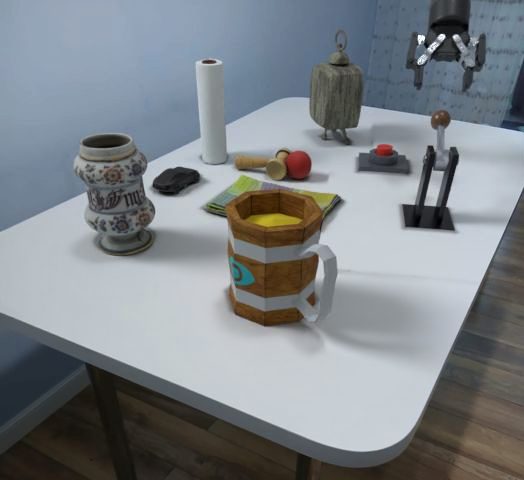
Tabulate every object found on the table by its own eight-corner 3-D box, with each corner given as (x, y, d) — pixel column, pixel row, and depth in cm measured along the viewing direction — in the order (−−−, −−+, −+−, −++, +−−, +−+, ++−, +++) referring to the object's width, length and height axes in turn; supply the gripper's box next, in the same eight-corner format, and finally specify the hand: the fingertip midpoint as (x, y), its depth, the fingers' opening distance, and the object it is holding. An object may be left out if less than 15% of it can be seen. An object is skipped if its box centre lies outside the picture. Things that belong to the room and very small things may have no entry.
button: (391, 152, 116) (392, 144, 114) (391, 157, 113) (393, 149, 112) (375, 151, 116) (376, 143, 115) (376, 156, 113) (377, 148, 112)
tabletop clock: (356, 146, 129) (370, 34, 112) (323, 149, 127) (332, 35, 111) (336, 129, 139) (346, 24, 123) (306, 132, 138) (312, 25, 121)
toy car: (203, 179, 112) (202, 162, 110) (169, 198, 104) (167, 180, 102) (183, 174, 114) (181, 157, 112) (148, 192, 107) (146, 175, 104)
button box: (403, 164, 120) (407, 147, 117) (406, 178, 113) (409, 161, 110) (358, 161, 121) (360, 144, 118) (357, 175, 114) (359, 158, 111)
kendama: (231, 181, 114) (305, 182, 108) (229, 152, 111) (305, 151, 105) (245, 175, 121) (316, 175, 114) (243, 147, 118) (315, 146, 111)
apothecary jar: (157, 223, 96) (143, 126, 84) (161, 254, 87) (145, 150, 75) (93, 229, 94) (69, 130, 82) (90, 262, 85) (62, 156, 73)
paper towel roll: (217, 166, 118) (212, 65, 104) (197, 161, 120) (189, 62, 106) (234, 157, 123) (231, 59, 108) (214, 152, 125) (209, 56, 111)
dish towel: (243, 182, 111) (242, 170, 109) (346, 204, 102) (347, 191, 101) (201, 213, 99) (200, 200, 97) (313, 240, 91) (314, 227, 89)
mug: (211, 293, 78) (204, 203, 68) (280, 267, 84) (283, 180, 74) (287, 362, 66) (292, 264, 56) (361, 326, 72) (377, 232, 62)
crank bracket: (401, 209, 101) (415, 139, 92) (446, 212, 100) (465, 142, 91) (404, 232, 93) (419, 158, 84) (453, 236, 92) (474, 161, 83)
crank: (428, 120, 95) (433, 104, 92) (447, 121, 95) (453, 105, 92) (428, 173, 90) (432, 157, 87) (448, 174, 90) (454, 159, 86)
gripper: (416, -8, 92) (407, 75, 91) (495, -6, 91) (487, 78, 90) (408, 21, 100) (400, 98, 99) (481, 23, 98) (474, 102, 97)
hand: (442, 88), depth 94 cm, fingers open, 8 cm apart
